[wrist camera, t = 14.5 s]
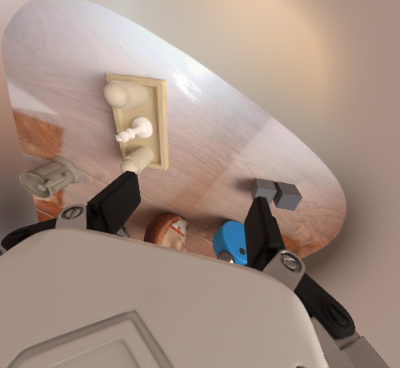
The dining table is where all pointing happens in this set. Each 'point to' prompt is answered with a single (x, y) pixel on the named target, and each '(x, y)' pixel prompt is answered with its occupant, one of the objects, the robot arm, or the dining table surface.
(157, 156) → the pawn tray
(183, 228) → the figurine
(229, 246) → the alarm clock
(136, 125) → the chess piece
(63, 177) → the mug
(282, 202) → the slate blocks
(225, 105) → the dining table surface
